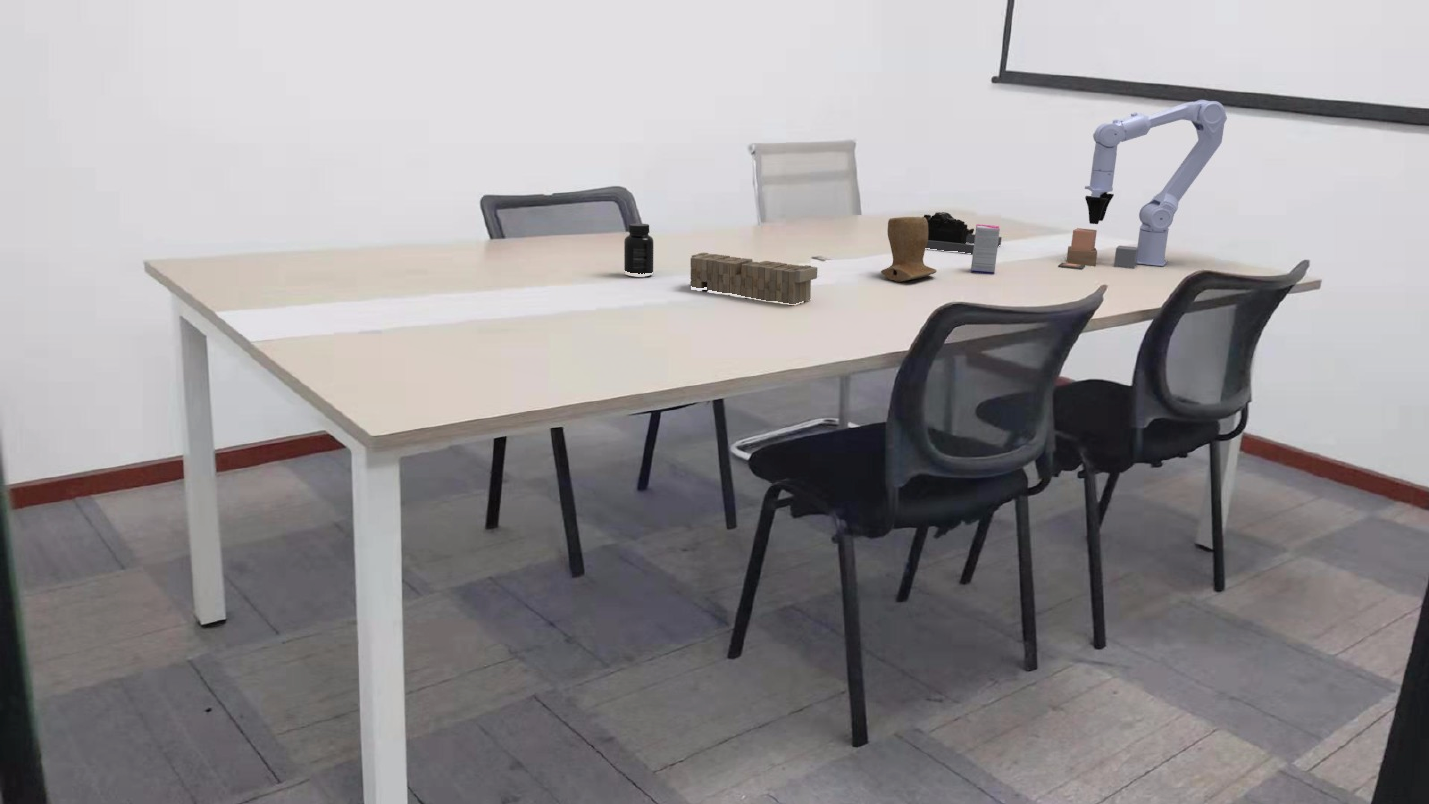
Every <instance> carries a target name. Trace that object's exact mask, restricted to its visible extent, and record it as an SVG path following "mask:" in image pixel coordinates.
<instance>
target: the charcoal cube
mask: <svg viewBox="0 0 1429 804" xmlns="http://www.w3.org/2000/svg"><path fill="white" fill-rule="evenodd" d="M1138 250H1139V247H1137V246H1136V247H1135V246H1126V245H1118V246H1117V247H1116V248H1115V256H1114V262H1113V267H1114V268H1122V269H1123V268H1124V269H1132V270H1133V269H1135V268H1136V267H1137V265H1138V264H1137V257H1138Z"/></svg>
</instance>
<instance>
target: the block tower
mask: <svg viewBox="0 0 1429 804" xmlns="http://www.w3.org/2000/svg"><path fill="white" fill-rule="evenodd" d="M816 279H818V267H817V266H811V265H802V264H801V265H798V264H797V265H796V264H792V263H791V264H790V263H789V264H788V263H787V262H786V263H785V262H778V261H777V262H776V261H769V260H763V261H760V262H758V261H753V259H752V258H746V257H745V258H743V257H742V258H741V257H737V256H736V257H735V256H731V255H726V254H725V255H724V254H717V253H714V254H713V253H708V252H699V253H697V254H696V253H695V254H692V255H691V257H690V283H689V284H690V286H692V287H696V288H704V287H707V290H712V291H717V292H722V293H732V294H737V295H741V296H745V297H751V298H756V299H761V300H766V301H778V302H783V303H789V304H796V303H799V302H802V301H807V302H809V301H808V300H810V299H812V298H811V296H812V295H811V291H812V280H816ZM690 286H689V287H690ZM707 290H706V291H707ZM810 301H811V300H810Z"/></svg>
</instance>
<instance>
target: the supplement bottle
mask: <svg viewBox="0 0 1429 804" xmlns="http://www.w3.org/2000/svg"><path fill="white" fill-rule="evenodd" d="M627 232H628V235H627V236H626V237H625V238H624V241H623V242H624V245H623V246H624V249H623V250H624V252H623V253H624V255H623V256H624V257H623V258H624V259H623V260H624V263H623V266H624V270H625V271H627V272H630V273H638V274H640V273H641V274H643V273H644V274H645V273H652V272H653V273H654V239H653V237H652V236H651V235H649V234H650V224H648V223H634V222H633V223H630V224H628V231H627ZM624 270H623V271H624Z"/></svg>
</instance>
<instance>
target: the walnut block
mask: <svg viewBox="0 0 1429 804" xmlns="http://www.w3.org/2000/svg"><path fill="white" fill-rule="evenodd" d="M1066 253H1067V254H1066V263H1070V264H1079V265H1085V267H1087V266H1088V267H1096V265H1097V259H1098V258H1097V256H1098V250H1097V249H1096V247H1095V248H1094V249H1093V250H1091V251H1083V250H1074V249H1071V245H1068V247H1067V252H1066Z"/></svg>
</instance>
